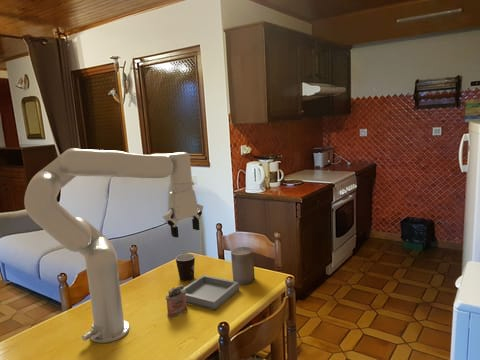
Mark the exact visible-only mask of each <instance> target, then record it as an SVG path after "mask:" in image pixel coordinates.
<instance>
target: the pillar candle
mask: <svg viewBox="0 0 480 360" xmlns="http://www.w3.org/2000/svg"><path fill="white" fill-rule="evenodd" d="M230 255H231V256H230V257H231V269H232V281H235V282H239V286H240V285H241V286H245V285H249V284H252V283H254V282H255V281H254V280H256V278H255V276H256V275H255V263H254V250H253V249H252V248H251V247H248V246H238V247H235V248H233V249H231V250H230Z"/></svg>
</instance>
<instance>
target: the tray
mask: <svg viewBox="0 0 480 360" xmlns="http://www.w3.org/2000/svg"><path fill="white" fill-rule="evenodd" d="M183 287H184V289H182V290H185V291H186V305H191V306H195V307H200V308H202V309H206V310H210V311H215V312H216V310H217V309H219V308H220V307H221V306H222V305H224V304H225V303H226V302H227V301H228V300H230V299H231V298H232V297H233V296H235V294H237V293H238V292H239V291H240V285H239V282H235V281H233V280H229V279H224V278H220V277H214V276H209V275H207V274H206V275H205V274H203V275H201V276H200V277H198V278H197V279H195V280H193V281H192V282H191V283H189V284H187V285H186V286H183Z"/></svg>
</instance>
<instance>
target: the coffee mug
mask: <svg viewBox="0 0 480 360" xmlns="http://www.w3.org/2000/svg"><path fill="white" fill-rule="evenodd" d="M195 258H196V256H195V254H193V253H183V254H178V255H177V256H175V261H176V266H177V267H176V268H177V272H178V276H179V280H180V281H182V282H188V281H189V282H190V281H192V280H194V278H195V261H196V259H195Z"/></svg>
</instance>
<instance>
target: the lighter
mask: <svg viewBox="0 0 480 360" xmlns="http://www.w3.org/2000/svg"><path fill="white" fill-rule="evenodd" d="M184 287H185V286H184V285H183V284H180V285H178V286H177V287H175V286H174V287H172V288H171V289H169V290H168V291H167V292H168V295H166V296H165V300H166V310H167V318H169V319H171V318H175V317H177V316H180V315H182V314H184V313H186V312H187V311H188V306H187V303H186V291H185V290H182V289H184Z"/></svg>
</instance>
